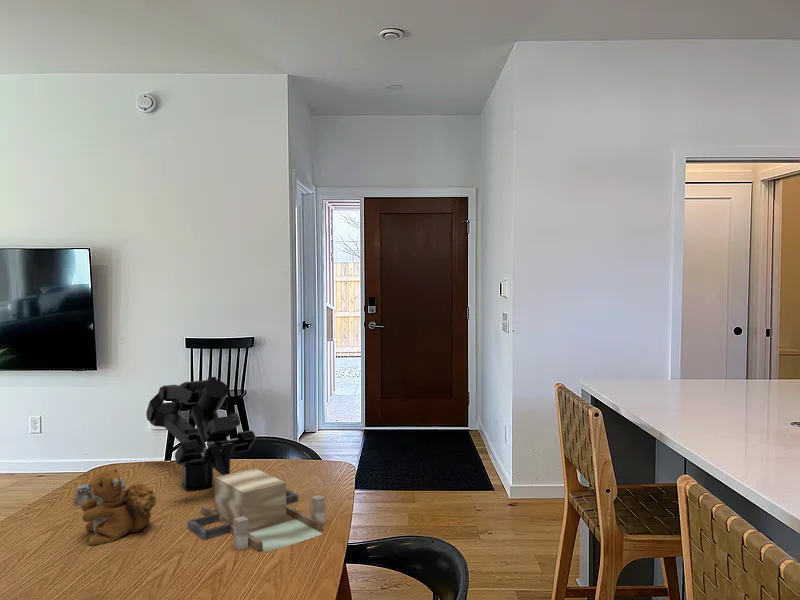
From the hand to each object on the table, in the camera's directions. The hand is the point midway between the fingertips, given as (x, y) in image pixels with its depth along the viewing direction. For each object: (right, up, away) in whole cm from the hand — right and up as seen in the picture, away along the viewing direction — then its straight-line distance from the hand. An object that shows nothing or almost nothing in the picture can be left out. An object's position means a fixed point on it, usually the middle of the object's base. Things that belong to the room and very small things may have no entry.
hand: (227, 476), depth 134 cm
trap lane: (+10, -7, -11) cm, 17 cm away
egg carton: (-32, -7, +3) cm, 33 cm away
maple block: (+7, -6, -8) cm, 13 cm away
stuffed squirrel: (-18, -7, -16) cm, 25 cm away
